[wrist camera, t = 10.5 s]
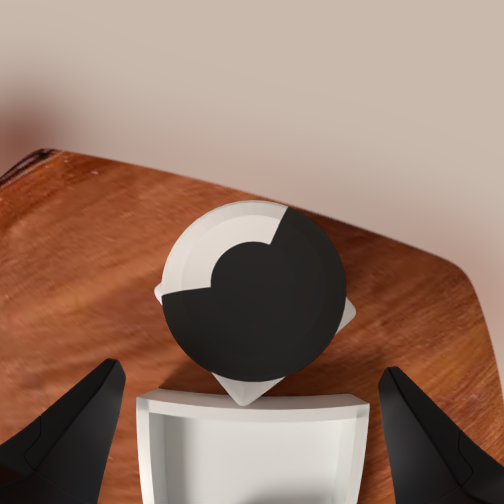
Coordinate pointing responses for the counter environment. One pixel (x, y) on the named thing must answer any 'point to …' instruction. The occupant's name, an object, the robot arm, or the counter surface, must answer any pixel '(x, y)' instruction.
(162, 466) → the tote
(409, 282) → the counter surface
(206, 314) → the medicine bottle
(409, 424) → the robot arm
